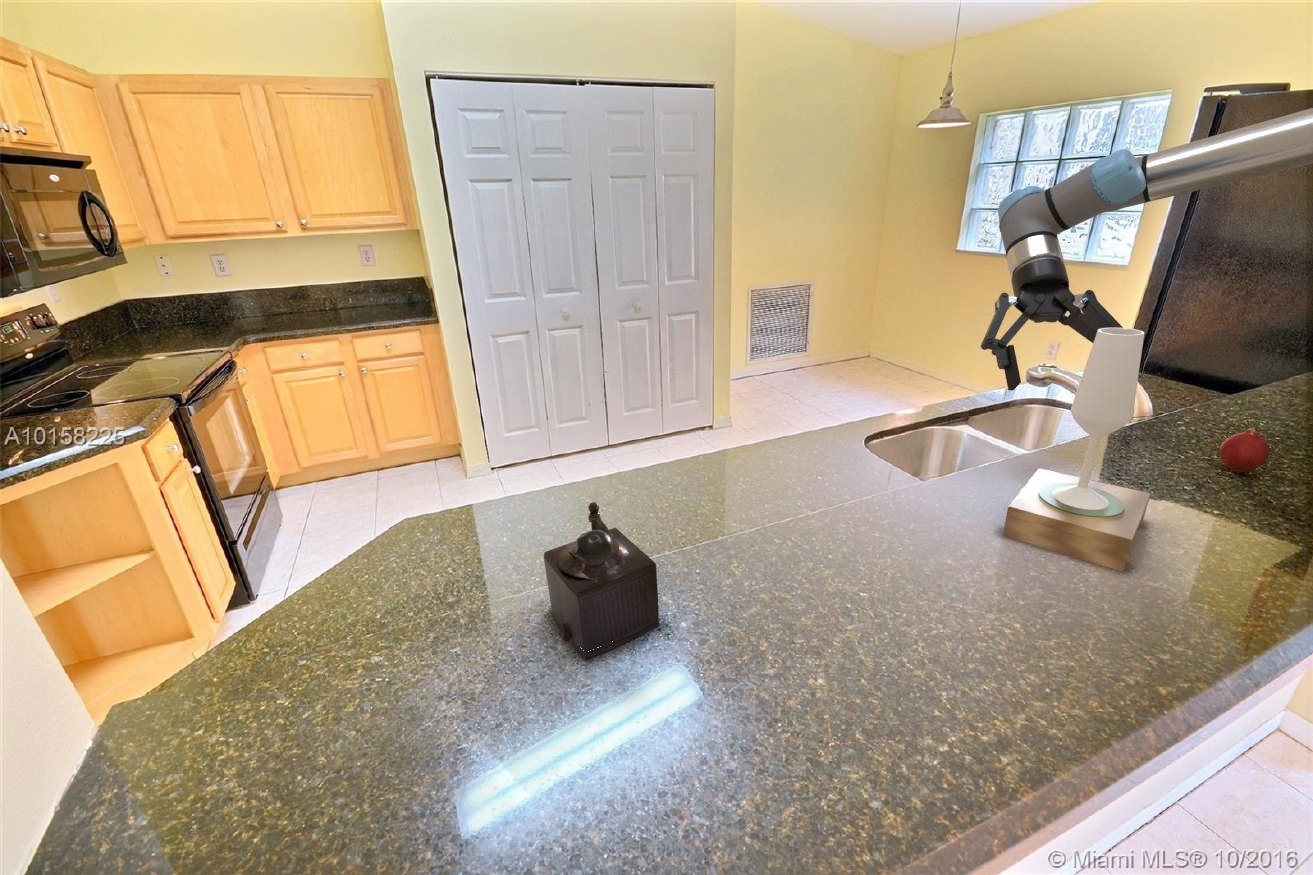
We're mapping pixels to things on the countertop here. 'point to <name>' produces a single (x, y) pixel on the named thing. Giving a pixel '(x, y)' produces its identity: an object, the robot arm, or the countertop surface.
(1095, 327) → the robot arm
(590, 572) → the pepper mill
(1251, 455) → the onion
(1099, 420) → the champagne flute
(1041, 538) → the wooden display base
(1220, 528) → the countertop surface
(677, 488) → the countertop surface
